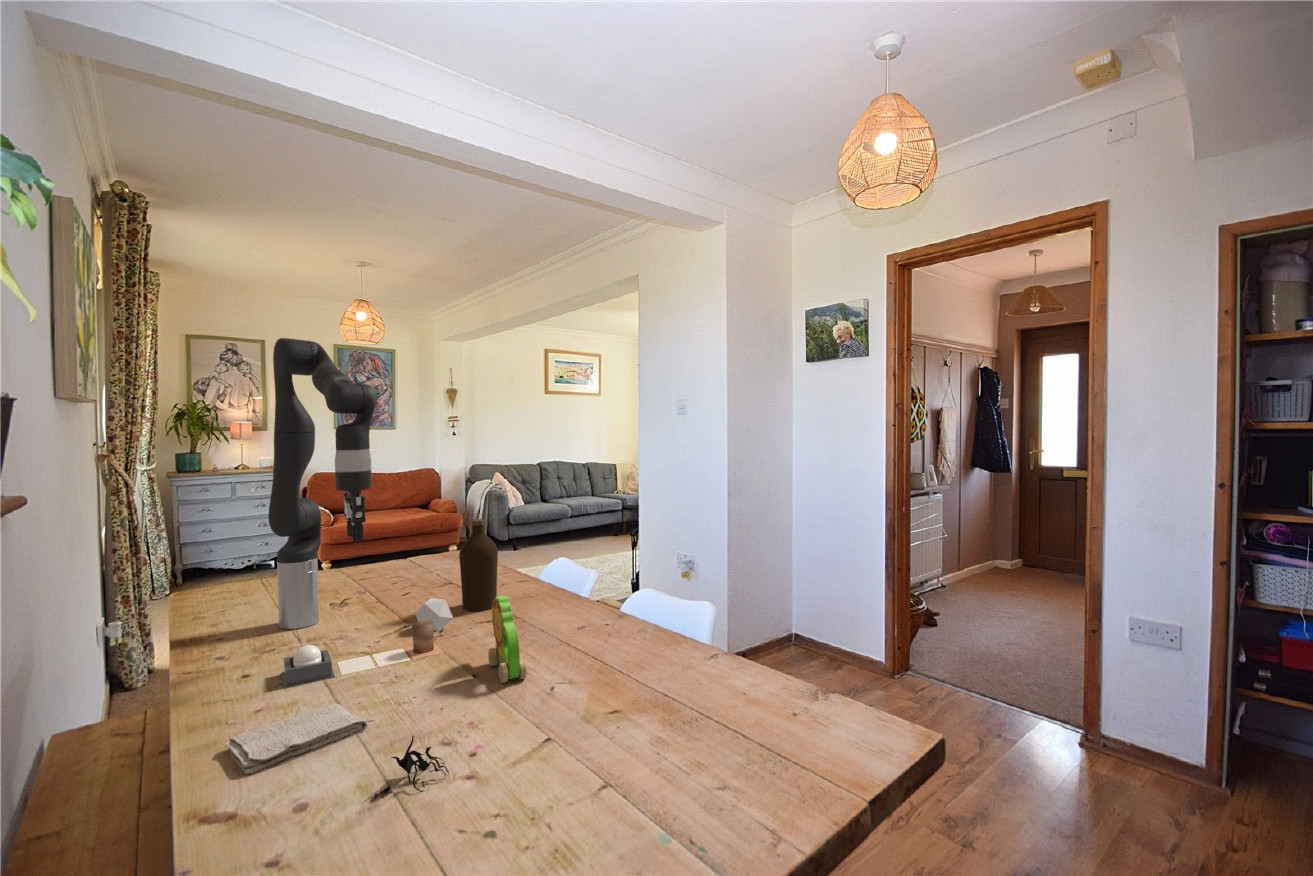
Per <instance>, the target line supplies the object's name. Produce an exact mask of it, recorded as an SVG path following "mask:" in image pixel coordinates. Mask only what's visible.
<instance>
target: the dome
mask: <svg viewBox="0 0 1313 876" xmlns="http://www.w3.org/2000/svg"><path fill="white" fill-rule="evenodd" d="M320 651H321V650H320V648H319V647H317V646H316V645H313V644H308V645H304V646H301V647H300V648H298V649H297V650H296V652H295V653H294V655H293V656H294V658H293V668H294V667H299V666H304V665H309V664H313V663H318V662H321V652H320Z"/></svg>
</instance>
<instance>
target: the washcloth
mask: <svg viewBox="0 0 1313 876" xmlns="http://www.w3.org/2000/svg"><path fill="white" fill-rule="evenodd" d="M367 728H368V722H367V721H366V720H365V719H364V718H362V717H361V716H360V717H359V716H357V715H355V714H352V713H351V712H350V711H349V710H348V709H346V707H344V706H342V705H341V704H339V703H336V702H335V703H332V704H331V703H330V704H328V705H327V704H326V705H324V706H320V707H318V708H315V709H313V710H310V711H304V712H301V713H298V714H295V715H292V716H290V717H288V718H287V717H286V718H284V719H281V720H278V721H274V722H273V723H269V724H266V725H263V726H261V727H260V726H259V727H257V728H255V729H254V728H253V729H252V730H248V731H244V732H242V733H239V734H238V733H237V734H236V735H234V736H232V737H230V738H229V741H227V742H226V744H225V748H227V750H228V751H229V752H230V753H229V754H230V755H229V756H230V757H231V759H232V761H234V763H236V764H237V765H238V767H239V768H240V769H241V770H242V772H243V773H244V774H245V775H251V774H255V773H257V772H263V771H265V770H267V769H271V768H274V767H277V766H279V765H282V764H283V765H284V764H285V763H288V762H290V761H292V760H296V759H298V758H300V757H302V756H306V755H308V754H311V753H313V752H316V751H319V750H321V749H324V748H326V747H329V746H331V745H334V744H337V743H339V742H341V741H344V740H347V739H349V738H352V737H354V736H358V735H360V734H362V732H364V731H365V730H366V729H367Z"/></svg>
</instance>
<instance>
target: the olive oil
mask: <svg viewBox="0 0 1313 876" xmlns="http://www.w3.org/2000/svg"><path fill="white" fill-rule="evenodd" d="M471 521H472V525H471V531H472V533H470V536H468V538H467V539H466V540H465V541H464V542H463V544H462V545H461V547H460V550H459V553H458V554H459V555H458V557H459V566H460V567H459V569H460V578H461V579H460V580H461V581H460V583H461V598H462V599H461V600H462V609H463V610H465V611H468V612H481V611H488V610H490V609H491V610H492V606H493V600H494V599H495V597H498V595H497V591H498V589H497V588H498V556H499V554H498V553H499V552H498V548H497V544H496V543H495V542H494V541H493V540H492V539H491V538H490V536H488V535H487V534H486V532H485V524H484V522H485V520H484V519H482V518H479V519H477V518H476V519H472V520H471Z"/></svg>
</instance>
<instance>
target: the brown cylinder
mask: <svg viewBox="0 0 1313 876" xmlns="http://www.w3.org/2000/svg"><path fill="white" fill-rule="evenodd" d="M434 632H435V631H434V628H433V622H432V621H421V622H418V621H417V622H415V623H413V624H412V642H413V643H412V646H413V652H414V653H417V654H422V653H428V652H431V651H432V650H434V643H435V639H434V638H435V635H434Z"/></svg>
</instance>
